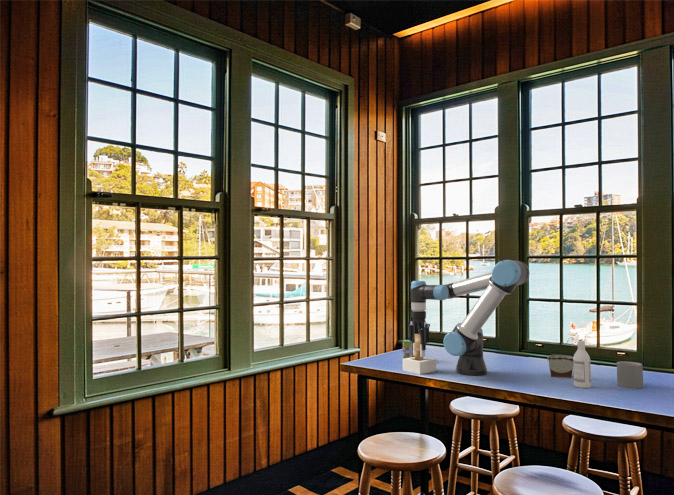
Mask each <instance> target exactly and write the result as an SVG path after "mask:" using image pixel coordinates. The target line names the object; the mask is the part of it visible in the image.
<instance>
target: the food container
mask: <svg viewBox="0 0 674 495" xmlns="http://www.w3.org/2000/svg"><path fill="white" fill-rule="evenodd" d="M573 357H574V356H571V355H564V354H550V355H548V356H547V361H548V366H549V373H550V378H560V379H561V378H562V379H573Z"/></svg>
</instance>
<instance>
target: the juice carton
mask: <svg viewBox="0 0 674 495" xmlns="http://www.w3.org/2000/svg"><path fill="white" fill-rule="evenodd" d="M411 357H415V356H413V348H412V342H411V341H409V339H402V360H403V359H404V358H411Z"/></svg>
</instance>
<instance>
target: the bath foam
mask: <svg viewBox="0 0 674 495" xmlns="http://www.w3.org/2000/svg"><path fill="white" fill-rule="evenodd" d="M572 357H573V372H572V379H573V386H574V387H576V388H578V389H590V388H592V369H591V368H592V367H591V366H592V365H591V357H590V355H589V353H588V352H587V351H586V342H585V341H584V340H578V341H577V350H576V351H575V352H574V354H573V356H572Z"/></svg>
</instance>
